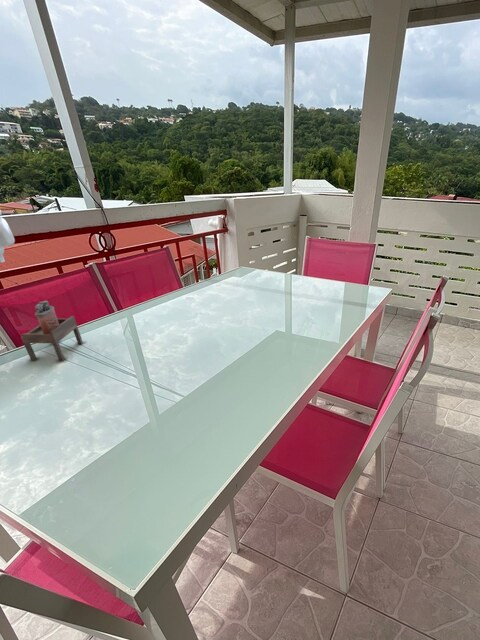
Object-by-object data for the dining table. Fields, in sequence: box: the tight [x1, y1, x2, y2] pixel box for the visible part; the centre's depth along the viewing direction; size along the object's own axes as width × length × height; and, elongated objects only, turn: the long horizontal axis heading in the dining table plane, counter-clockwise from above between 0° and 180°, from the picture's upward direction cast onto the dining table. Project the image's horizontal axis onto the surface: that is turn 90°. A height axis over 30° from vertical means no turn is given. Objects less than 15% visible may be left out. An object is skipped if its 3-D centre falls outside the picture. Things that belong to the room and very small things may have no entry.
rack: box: [20, 315, 84, 362], centre depth 112 cm, size 10×14×10 cm
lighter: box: [34, 300, 59, 334], centre depth 108 cm, size 8×3×10 cm, turn 7°
